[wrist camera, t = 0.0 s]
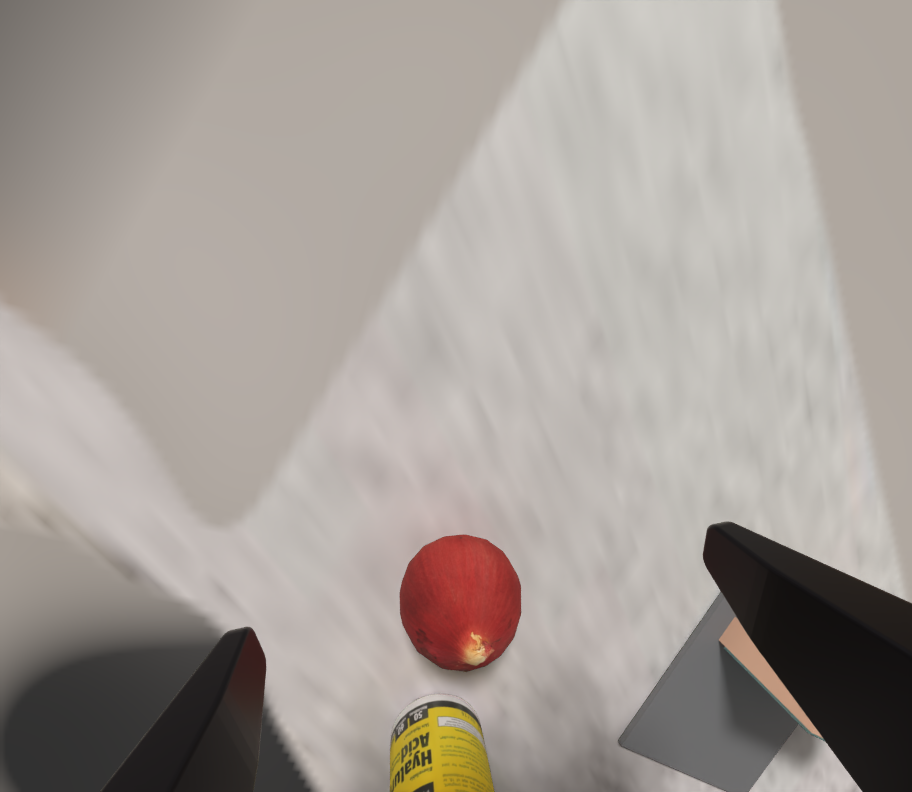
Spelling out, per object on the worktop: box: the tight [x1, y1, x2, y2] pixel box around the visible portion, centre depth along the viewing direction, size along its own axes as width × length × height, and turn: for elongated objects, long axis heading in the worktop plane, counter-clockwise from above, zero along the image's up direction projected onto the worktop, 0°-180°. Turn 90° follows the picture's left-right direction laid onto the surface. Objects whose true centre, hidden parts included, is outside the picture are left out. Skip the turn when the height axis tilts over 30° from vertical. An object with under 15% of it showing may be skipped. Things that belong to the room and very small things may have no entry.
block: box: [719, 617, 826, 742], centre depth 26 cm, size 2×8×6 cm, turn 59°
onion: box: [400, 535, 521, 672], centre depth 22 cm, size 6×6×8 cm
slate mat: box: [618, 592, 798, 792], centre depth 30 cm, size 13×11×1 cm
